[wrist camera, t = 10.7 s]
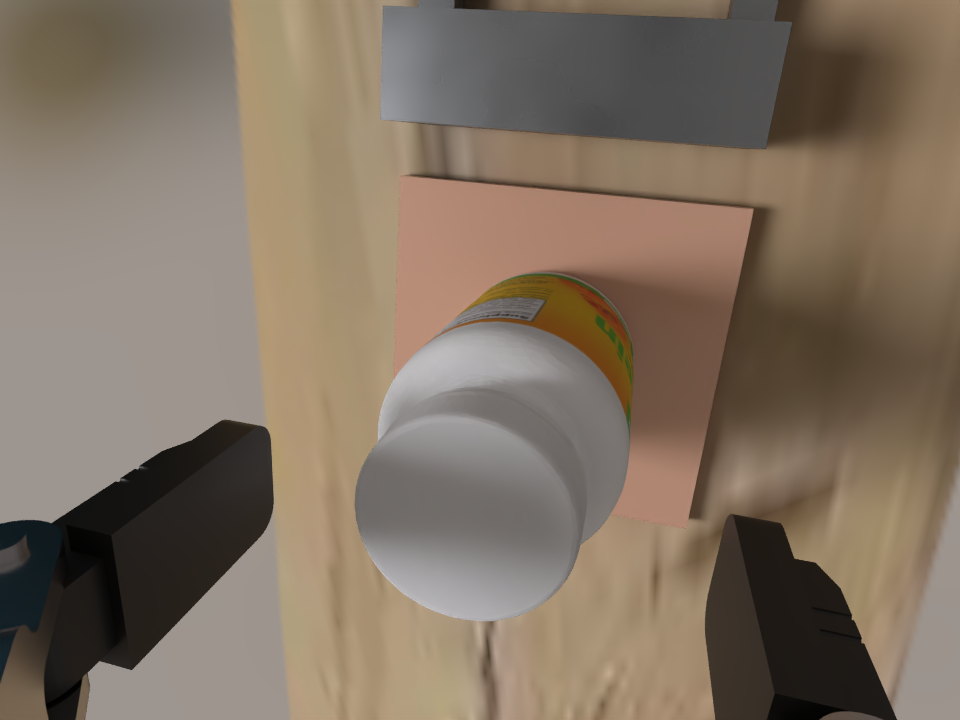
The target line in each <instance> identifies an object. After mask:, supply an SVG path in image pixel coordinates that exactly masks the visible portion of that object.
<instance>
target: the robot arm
mask: <svg viewBox="0 0 960 720" xmlns="http://www.w3.org/2000/svg"><path fill="white" fill-rule="evenodd" d="M273 504H274V497H273V476H272V455H271V438H270V434H269V432H268V430H267V429H266V428H265V427H263V426H258V425H253V424H247V423H242V422H236V421H231V420H222V421H220V422H218V423H217V424H215V425H214V426H212V427H211V428H209V429H208V430H206V431H205V432H203V433H202V434H200V435H199V436H197V437H196V438H195V439H193V440H192V441H188V442H186V443H183V444H181V445H178V446H175V447H172V448H169V449H167V450H164V451H162V452H160V453H158V454H157V455H155V456H154V457H152V458H151V459H149V460H148V461H146V462H145V463H143V464H142V465H140V466H139V469H134V470H132V471H131V472H129V473H128V474H126V475H125V476H123V477H122V478H121V479H120V482H114V483H113V484H111V485H110V486H108V487H106V488H105V489H103V490H102V491H100V492H99V493H97V494H96V495H94V496H92V497H91V498H90V499H88V500H87V501H85V502H83V503H82V504H80V505H79V506H77V507H76V508H74V509H73V510H71V511H69V512H68V513H66V514H65V515H63V516H62V517H60V518H59V519H57V520H56V521H54V522H53V523H49V522H45V521H39V520H20V521H11V522H7V523H1V524H0V720H85V718H86V712H87V704H88V698H89V692H90V683H89V678H88V672H89V671H90V670H91V669H92V668H93V667H94V666H95V665H96V664H97V663H98V662H99V661H101V662H105V663H109V664H112V665H116V666H120V667H123V668H126V669H130V670H132V669H133V668H134V667H135V666H136V665H137V664H138V663H139V662H140V661H141V660H142V659H143V658H144V657H145V656H146V655H147V654H148V653H149V652H150V651H151V650H152V649H153V648H154V647H155V645H156V644H157V643H158V642H159V641H160V640H161V639H162V638H163V637H164V636H165V635H166V634H167V633H168V632H169V631H170V630H171V629H172V628H173V627H174V626H175V625H176V624H177V623H178V622H179V621H180V619H181V618H182V617H183V616H184V615H185V614H186V613H187V612H188V611H189V610H190V609H191V608H192V607H193V606H194V605H195V604H196V603H197V602H198V601H199V600H200V599H201V598H202V596H204V594H205V593H206V592H207V591H208V590H209V589H210V588H211V587H212V586H213V585H214V584H215V583H216V582H217V581H218V580H219V579H220V578H221V577H222V576H223V575H224V574H225V573H226V572H227V571H228V570H229V569H230V568H231V567H232V565H233V564H234V563H235V562H236V561H237V560H238V559H239V558H240V557H241V556H242V555H243V554H244V553H245V552H246V551H247V550H248V549H249V548H250V547H251V546H252V545H253V544H254V542H256V541H257V540H258V538H259V537H260V536H261V535H262V534H263V533H264V531H265V530H266V528H267V526H268V523H269V521H270V518H271V515H272V511H273ZM705 636H706V645H707V653H708V662H709V670H710V678H711V687H712V695H713V703H714V712H715V720H897V719H896V716H895V714H894V712H893V709H892V707H891V705H890V702H889V700H888V698H887V695H886V693H885V691H884V688H883V686H882V684H881V681H880V679H879V677H878V674H877V672H876V670H875V668H874V665H873V663H872V661H871V658H870V656H869V654H868V651H867V649H866V647H865V644H863V643H861V639H862V637H861V635H860V633H859V630H858V628H857V626H856V623H855V621H854V620H852V614H851V612H850V610H849V607H848V605H847V603H846V600H845V598H844V596H843V593H842V591H841V589H840V587H839V586H838V585H837V584H836V583H835V582H834V581H833V580H832V579H831V578H830V577H829V576H828V575H827V574H826V573H825V572H824V571H823V570H822V569H821V568H820V567H819V566H818V565H817V564H816V563H814V562H809V561H804V560H799V559H794V556H793V554H792V551H791V548H790V545H789V542H788V539H787V536H786V534H785V531H784V528H783V526H782V524H781V523H778V522H772V521H767V520H761V519H756V518H751V517H745V516H740V515H734V514H730V515H729V516H728V517H727V520H726V522H725V526H724V530H723V534H722V538H721V542H720V546H719V551H718V555H717V559H716V563H715V567H714V572H713V576H712V580H711V584H710V589H709V593H708V598H707V605H706V615H705Z"/></svg>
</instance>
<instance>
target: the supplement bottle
mask: <svg viewBox="0 0 960 720" xmlns="http://www.w3.org/2000/svg"><path fill="white" fill-rule="evenodd" d="M633 377H634V354H633V345H632V340H631V336H630V333H629V330H628V328H627V325H626V323H625V321H624V319H623V317H622V316H621V314H620V312H619V311H618V310H617V308H616V307H615V306H614V305H613V303H612V302H611V301H610V300H609V299H608V298H607V297H606V296H605V295H604V294H602V293H601V292H600V291H599V290H597V289H596V288H595V287H593V286H592V285H590V284H588V283H586V282H584V281H582V280H580V279H578V278H575V277H572V276H569V275H565V274H561V273H555V272H532V273H524V274H520V275H516V276H513V277H510V278H508V279H505V280H503V281H501V282H499V283H498V284H496V285H494V286H493V287H491V288H490V289H488V290H487V291H486V292H484V293H483V294H482V295H481V296H479V297H478V298H477V299H476V300H475V301H474V302H473V303H472V304H470V305H469V306H468V307H467V308H466V309H465V310H463V311H462V312H461V313H460V314H459V315H458V316H457V317H455V318H454V319H453V320H452V321H451V322H450V323H449V324H448V325H446V326H445V327H444V328H443V329H442V330H441V331H440V332H439V333H438V334H437V335H435V336H434V337H433V338H432V339H431V340H430V341H428V342H427V343H426V344H425V345H424V346H423V347H422V348H421V349H419V350H418V351H417V352H416V353H415V354H414V355H413V356H412V357H411V358H410V359H409V360H408V362H407V363H406V364H405V365H404V366H403V368H402V369H401V370H400V371H399V372H398V374H397V376H396V377H395V379H394V380H393V382H392V384H391V385H390V387H389V390H388V392H387V394H386V396H385V399H384V402H383V405H382V408H381V413H380V418H379V425H378V443H377V444H376V445H375V446H374V448H373V449H372V450H371V452H370V453H369V455H368V457H367V458H366V460H365V462H364V464H363V466H362V468H361V471H360V474H359V477H358V481H357V486H356V493H355V512H356V521H357V525H358V530H359V533H360V535H361V538H362V541H363V543H364V546H365V548H366V550H367V552H368V553H369V555H370V557H371V559H372V560H373V562H374V563H375V565H376V566H377V568H378V569H379V570H380V571H381V573H382V574H383V575H384V576H385V577H386V578H387V580H389V581H390V582H391V583H392V584H393V585H394V586H395V587H396V588H397V589H398V590H400V591H401V592H402V593H403V594H405V595H406V596H408V597H409V598H411V599H412V600H414V601H415V602H417V603H419V604H420V605H422V606H424V607H426V608H428V609H430V610H432V611H435V612H438V613H441V614H444V615H447V616H450V617H454V618H459V619H465V620H472V621H496V620H502V619H507V618H512V617H516V616H520V615H522V614H524V613H527V612H529V611H531V610H533V609H535V608H537V607H538V606H540V605H541V604H543V603H544V602H545V601H547V600H548V599H549V598H550V597H552V596H553V595H554V594H555V593H556V592H557V591H558V590H559V589H560V587H561V586H562V585H563V583H564V582H565V581H566V579H567V578H568V576H569V574H570V572H571V571H572V569H573V566H574V564H575V561H576V558H577V556H578V552H579V548H580V545H581V544H582V543H583V542H585V541H586V540H588V539H589V538H590V537H591V536H592V535H593V534H594V533H596V532H597V531H598V530H599V528H600V527H601V526H602V525H603V524H604V523H605V521H606V520H607V518H608V517H609V516H610V514H611V512H612V511H613V509H614V508H615V506H616V504H617V502H618V500H619V497H620V495H621V493H622V490H623V487H624V484H625V479H626V475H627V469H628V463H629V452H630V432H631V409H632V394H633Z"/></svg>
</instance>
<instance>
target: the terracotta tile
mask: <svg viewBox="0 0 960 720" xmlns="http://www.w3.org/2000/svg"><path fill="white" fill-rule="evenodd" d="M753 211H754V209H753V208H751V207H742V206H732V205H721V204H710V203H700V202H689V201H679V200H668V199H657V198H647V197H636V196H626V195H615V194H604V193H594V192H583V191H573V190H562V189H551V188H541V187H530V186H520V185H509V184H498V183H488V182H477V181H467V180H456V179H445V178H435V177H424V176H414V175H402V176H400V201H399V232H398V263H397V294H396V325H395V356H394V379H395V377H396V376H397V374H398V372H399V371H400V370H401V369H402V368H403V366H404V365H405V364H406V363H407V362H408V360H409V359H410V358H411V357H412V356H413V355H414V354H415V353H416V352H417V351H418V350H419V349H421V348H422V347H423V346H424V345H425V344H426V343H427V342H428V341H430V340H431V339H432V338H433V337H434V336H435V335H437V334H438V333H439V332H440V331H441V330H442V329H443V328H444V327H445V326H446V325H448V324H449V323H450V322H451V321H452V320H453V319H454V318H455V317H457V316H458V315H459V314H460V313H461V312H462V311H463V310H465V309H466V308H467V307H468V306H469V305H470V304H472V303H473V302H474V301H475V300H476V299H477V298H478V297H479V296H481V295H482V294H483V293H484V292H486V291H487V290H488V289H490V288H491V287H493V286H494V285H496V284H498V283H499V282H501V281H503V280H505V279H508V278H510V277H513V276H516V275H520V274H524V273H532V272H555V273H561V274H565V275H569V276H572V277H575V278H578V279H580V280H582V281H584V282H586V283H588V284H590V285H592V286H593V287H595V288H596V289H597V290H599V291H600V292H601V293H602V294H604V295H605V296H606V297H607V298H608V299H609V300H610V301H611V302H612V303H613V305H614V306H615V307H616V308H617V310H618V311H619V312H620V314H621V316H622V317H623V319H624V321H625V323H626V325H627V328H628V330H629V333H630V336H631V340H632V345H633V354H634V377H633V394H632V409H631V432H630V452H629V463H628V469H627V475H626V479H625V484H624V487H623V490H622V493H621V495H620V497H619V500H618V502H617V504H616V506H615V508H614V509H613V511H612V512H611V514H612V515H617V516H622V517H627V518H632V519H638V520H643V521H648V522H653V523H658V524H664V525H669V526H674V527H679V528H684V529H686V527H687V523H688V518H689V513H690V508H691V504H692V499H693V494H694V490H695V485H696V480H697V475H698V471H699V466H700V461H701V457H702V452H703V447H704V442H705V438H706V433H707V428H708V423H709V419H710V414H711V409H712V405H713V400H714V395H715V390H716V386H717V381H718V376H719V372H720V367H721V362H722V357H723V353H724V348H725V343H726V338H727V334H728V329H729V324H730V320H731V315H732V310H733V305H734V301H735V296H736V291H737V287H738V282H739V277H740V272H741V268H742V263H743V258H744V253H745V249H746V244H747V239H748V235H749V230H750V225H751V220H752V216H753Z"/></svg>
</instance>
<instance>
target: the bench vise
mask: <svg viewBox="0 0 960 720" xmlns="http://www.w3.org/2000/svg"><path fill="white" fill-rule="evenodd" d="M464 5H465V0H419V1H418V7H403V6H383V25H382V71H381V116H380V119H382V120H391V121H400V122H410V123H419V124H430V125H443V126H456V127H468V128H481V129H494V130H507V131H520V132H533V133H546V134H559V135H572V136H585V137H598V138H611V139H624V140H637V141H649V142H662V143H675V144H688V145H701V146H714V147H727V148H740V149H766V145H767V140H768V135H769V130H770V126H771V121H772V116H773V111H774V107H775V102H776V97H777V92H778V88H779V83H780V78H781V74H782V69H783V64H784V59H785V55H786V50H787V45H788V40H789V36H790V31H791V26H792V22H783V21H774V20H775V15H776V10H777V5H778V0H731V1H730V6H729V12H728V17H727V19H707V18H682V17H656V16H631V15H606V14H580V13H555V12H529V11H504V10H479V9H464Z"/></svg>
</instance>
